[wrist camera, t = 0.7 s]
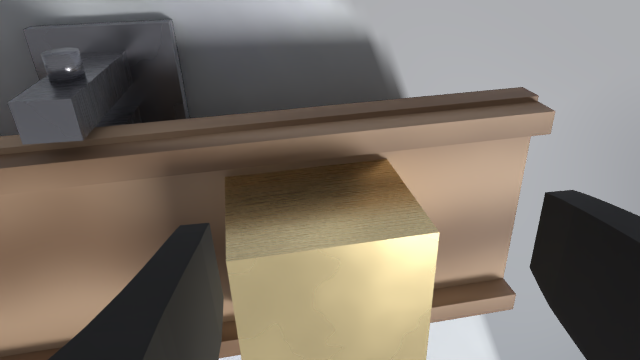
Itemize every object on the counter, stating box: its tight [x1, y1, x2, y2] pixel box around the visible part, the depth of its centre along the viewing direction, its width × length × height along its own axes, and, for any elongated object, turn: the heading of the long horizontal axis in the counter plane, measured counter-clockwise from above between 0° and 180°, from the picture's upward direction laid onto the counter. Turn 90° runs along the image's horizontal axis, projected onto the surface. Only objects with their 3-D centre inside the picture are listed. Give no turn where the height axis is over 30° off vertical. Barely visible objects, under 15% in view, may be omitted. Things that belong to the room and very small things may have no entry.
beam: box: [0, 87, 555, 360], centre depth 16 cm, size 9×28×3 cm, turn 92°
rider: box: [225, 159, 439, 360], centre depth 15 cm, size 6×6×4 cm
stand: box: [8, 19, 189, 145], centre depth 18 cm, size 14×5×6 cm, turn 2°
